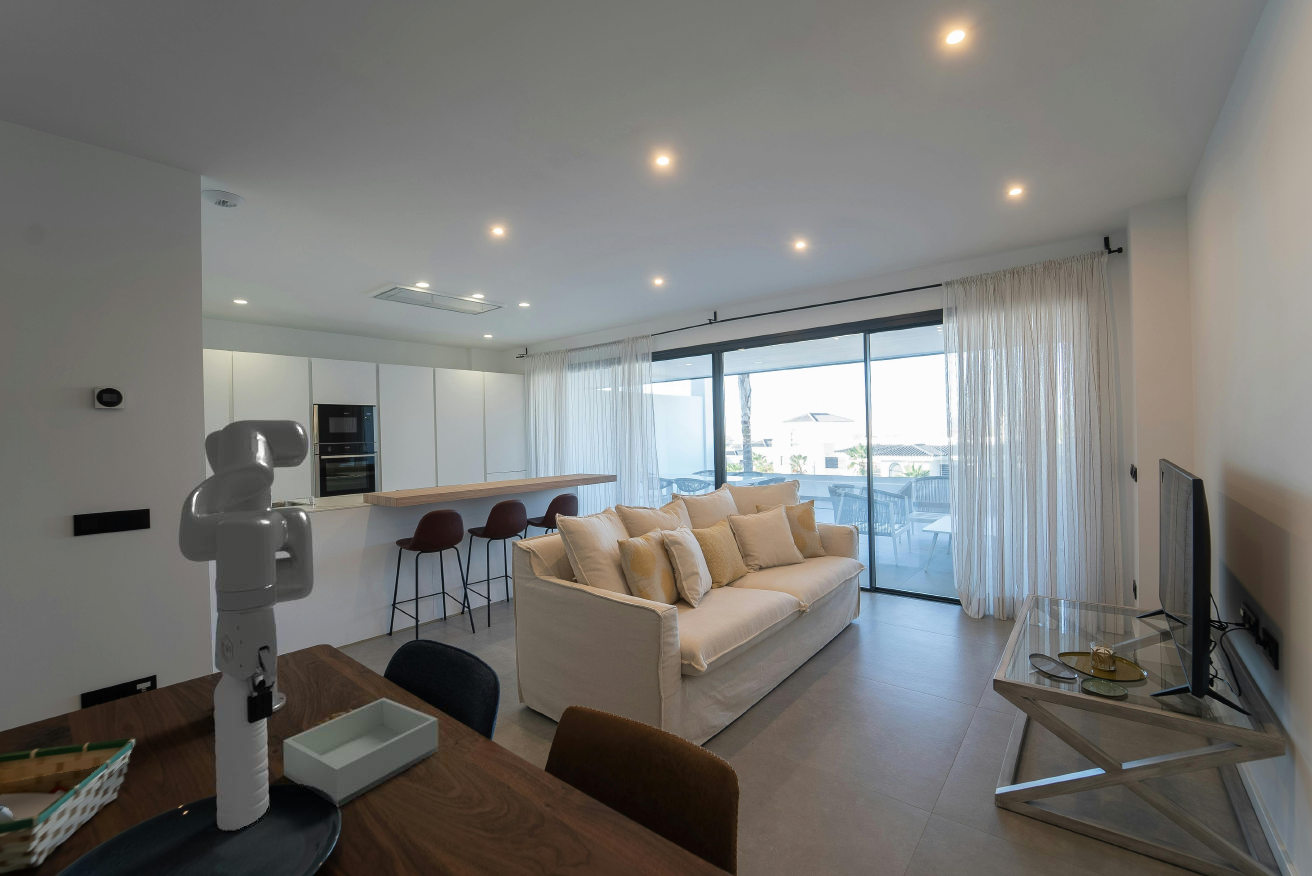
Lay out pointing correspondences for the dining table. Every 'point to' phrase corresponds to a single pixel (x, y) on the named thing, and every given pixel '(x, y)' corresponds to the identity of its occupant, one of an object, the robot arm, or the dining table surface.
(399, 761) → the bin
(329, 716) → the pastry
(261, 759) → the water bottle
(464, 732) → the dining table surface
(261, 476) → the robot arm
